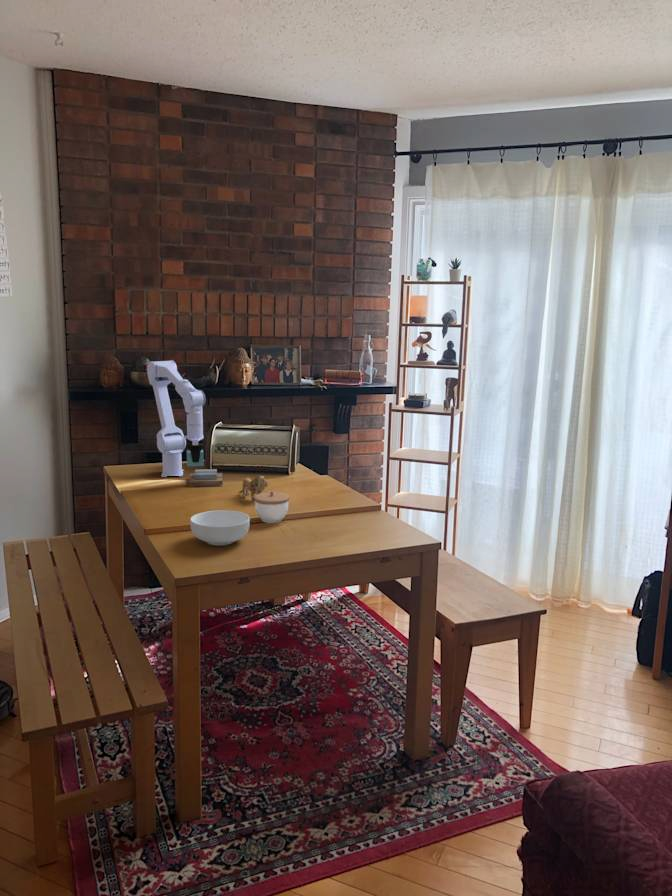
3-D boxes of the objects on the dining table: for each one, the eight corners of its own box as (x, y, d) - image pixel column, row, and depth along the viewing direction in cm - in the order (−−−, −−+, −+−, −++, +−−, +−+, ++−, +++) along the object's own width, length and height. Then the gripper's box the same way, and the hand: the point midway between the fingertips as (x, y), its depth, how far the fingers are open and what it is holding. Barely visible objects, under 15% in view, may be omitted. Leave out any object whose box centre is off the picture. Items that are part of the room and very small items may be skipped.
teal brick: (187, 463, 273) (186, 450, 272) (203, 462, 274) (203, 449, 273) (187, 466, 269) (186, 452, 268) (203, 465, 270) (203, 452, 269)
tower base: (190, 478, 281) (190, 468, 280) (222, 477, 283) (222, 467, 282) (189, 486, 269) (188, 476, 268) (222, 486, 271) (222, 475, 270)
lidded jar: (288, 525, 227) (288, 496, 225) (253, 525, 226) (253, 496, 224) (289, 515, 237) (289, 486, 235) (255, 515, 237) (255, 486, 235)
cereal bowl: (262, 541, 212) (262, 517, 211) (216, 555, 200) (216, 530, 199) (224, 528, 224) (223, 505, 222) (178, 541, 211) (178, 517, 210)
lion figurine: (271, 501, 252) (270, 476, 250) (258, 504, 248) (258, 478, 247) (244, 492, 262) (244, 468, 260) (232, 495, 259) (232, 470, 257)
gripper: (183, 420, 275) (184, 456, 277) (183, 428, 261) (184, 465, 264) (203, 420, 276) (203, 456, 279) (203, 427, 262) (204, 464, 265)
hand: (195, 460), depth 271 cm, fingers closed on teal brick, 4 cm apart
